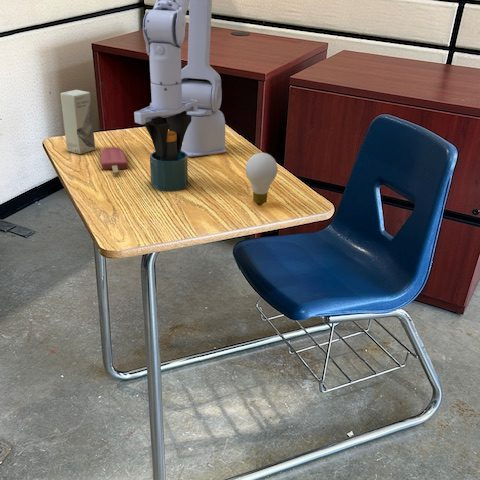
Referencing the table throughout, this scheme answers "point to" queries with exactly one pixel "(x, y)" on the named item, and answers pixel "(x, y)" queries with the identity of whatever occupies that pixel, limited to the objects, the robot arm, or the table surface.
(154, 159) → the tumbler
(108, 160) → the popsicle
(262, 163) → the light bulb
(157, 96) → the robot arm
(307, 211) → the table surface
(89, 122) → the box
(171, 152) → the glue stick
